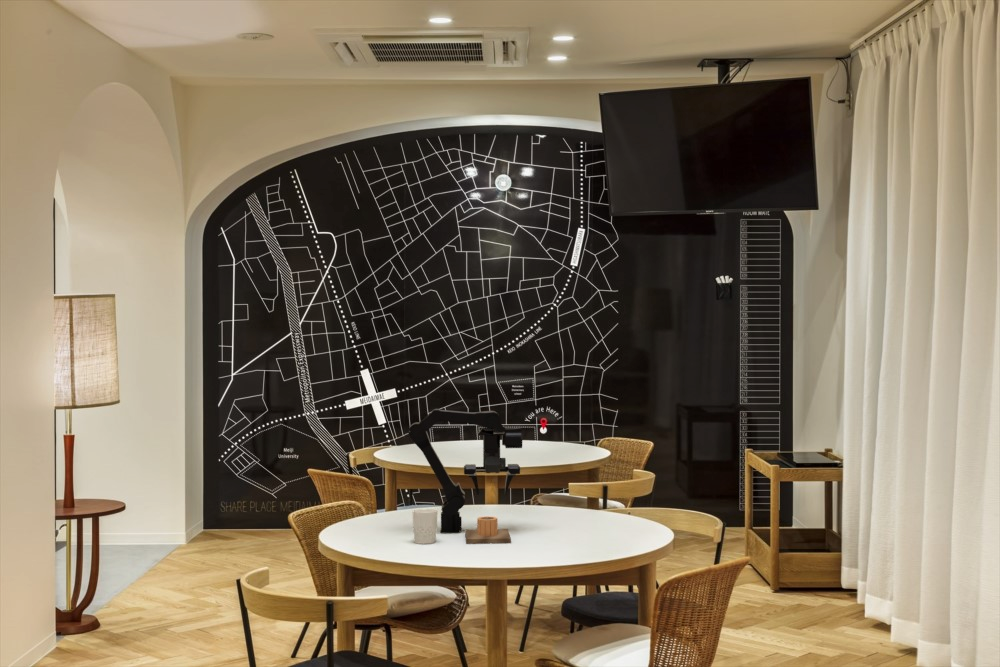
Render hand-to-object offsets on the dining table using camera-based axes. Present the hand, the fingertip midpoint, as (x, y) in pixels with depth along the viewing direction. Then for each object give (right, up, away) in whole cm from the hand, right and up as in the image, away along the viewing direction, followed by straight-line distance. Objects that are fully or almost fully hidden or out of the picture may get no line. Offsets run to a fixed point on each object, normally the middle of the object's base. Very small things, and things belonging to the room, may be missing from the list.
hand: (491, 495), depth 324 cm
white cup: (-21, -12, -18) cm, 30 cm away
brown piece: (-1, -12, -13) cm, 18 cm away
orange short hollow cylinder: (-1, -10, -13) cm, 17 cm away
